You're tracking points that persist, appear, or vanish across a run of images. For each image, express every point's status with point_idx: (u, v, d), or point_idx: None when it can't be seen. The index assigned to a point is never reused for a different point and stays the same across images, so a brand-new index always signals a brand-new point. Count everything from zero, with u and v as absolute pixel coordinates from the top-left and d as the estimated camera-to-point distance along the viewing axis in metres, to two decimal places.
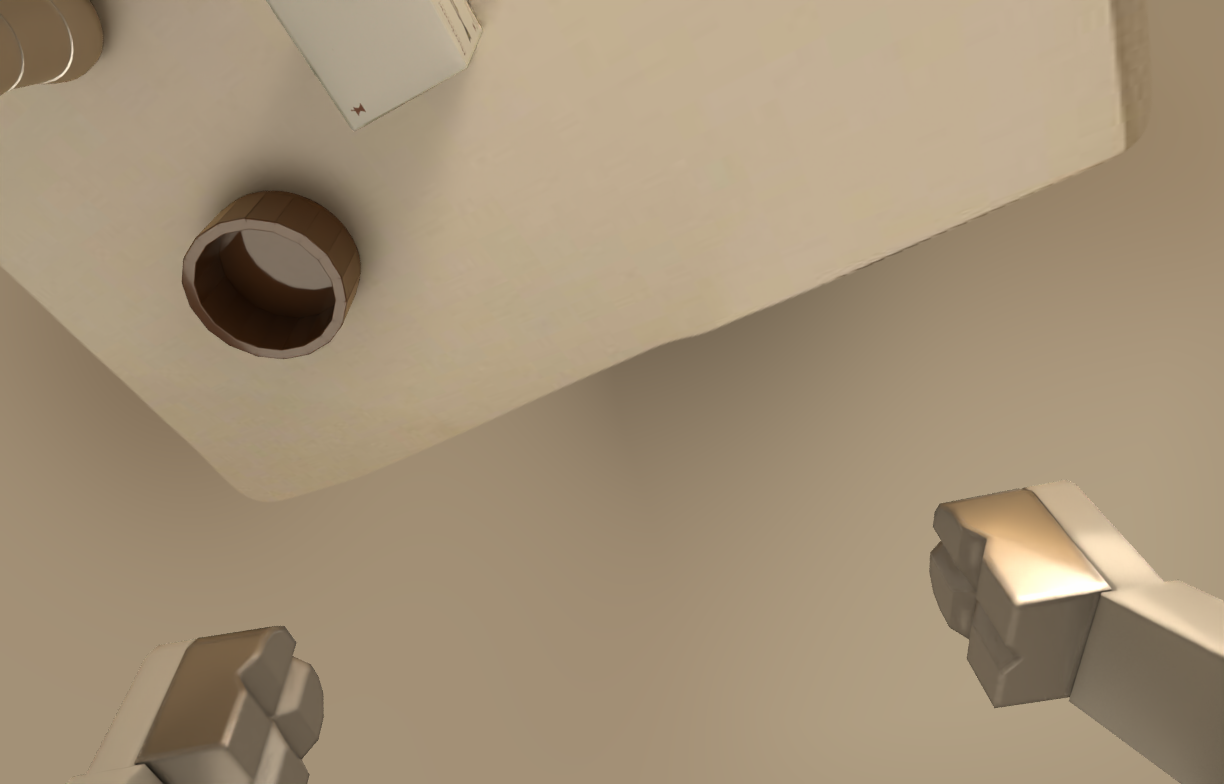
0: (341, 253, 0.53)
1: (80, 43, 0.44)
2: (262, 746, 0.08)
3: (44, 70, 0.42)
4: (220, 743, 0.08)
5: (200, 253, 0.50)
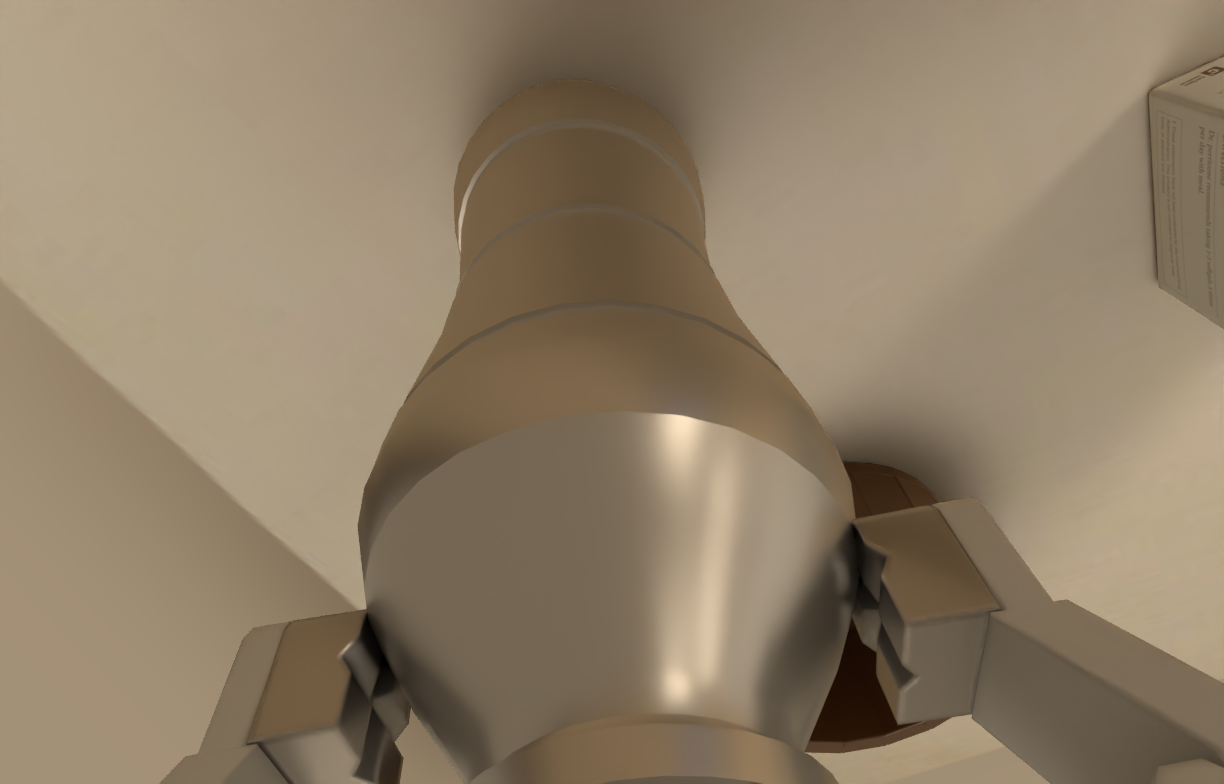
0: None
1: None
2: (366, 727, 0.08)
3: None
4: (333, 723, 0.08)
5: None
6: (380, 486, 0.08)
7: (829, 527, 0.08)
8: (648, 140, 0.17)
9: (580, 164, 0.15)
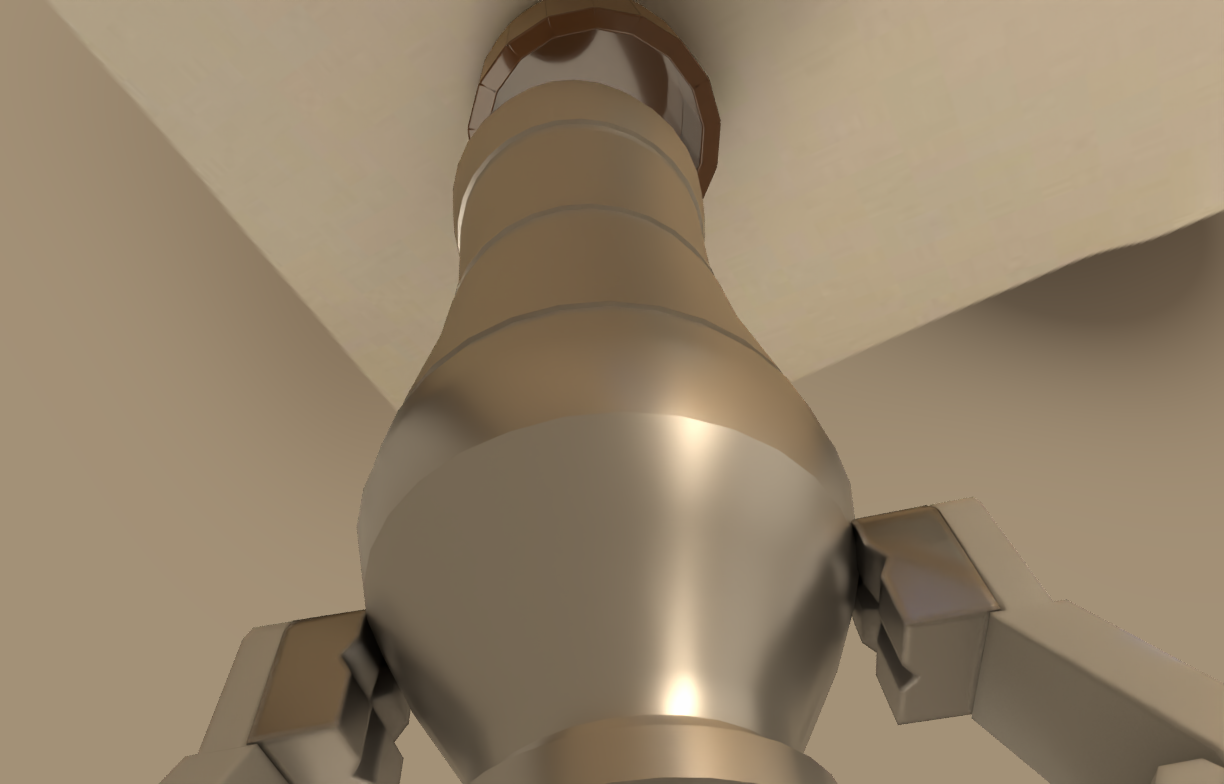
0: None
1: None
2: (366, 728, 0.08)
3: None
4: (333, 724, 0.08)
5: (508, 74, 0.30)
6: (379, 487, 0.08)
7: (828, 528, 0.08)
8: (647, 140, 0.17)
9: (579, 165, 0.15)
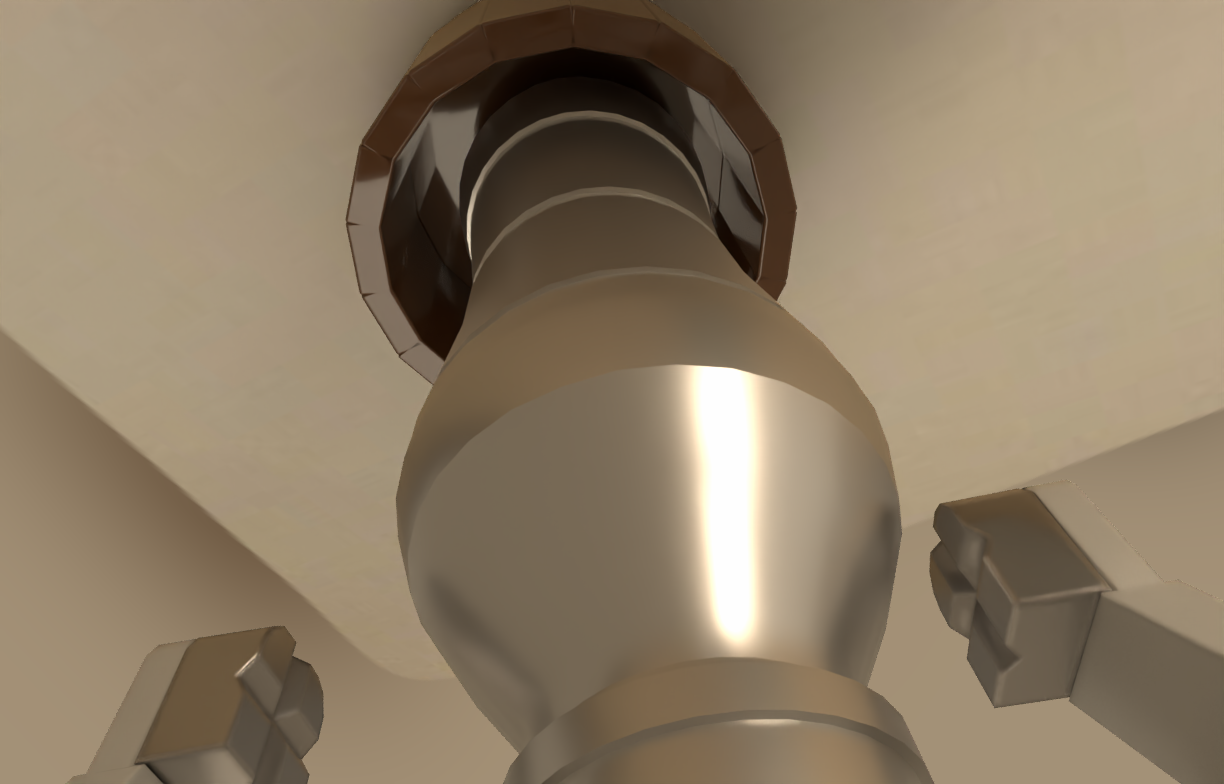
0: None
1: None
2: (262, 746, 0.08)
3: None
4: (221, 743, 0.08)
5: (413, 128, 0.16)
6: (424, 452, 0.08)
7: (876, 482, 0.08)
8: (656, 132, 0.17)
9: (593, 152, 0.15)
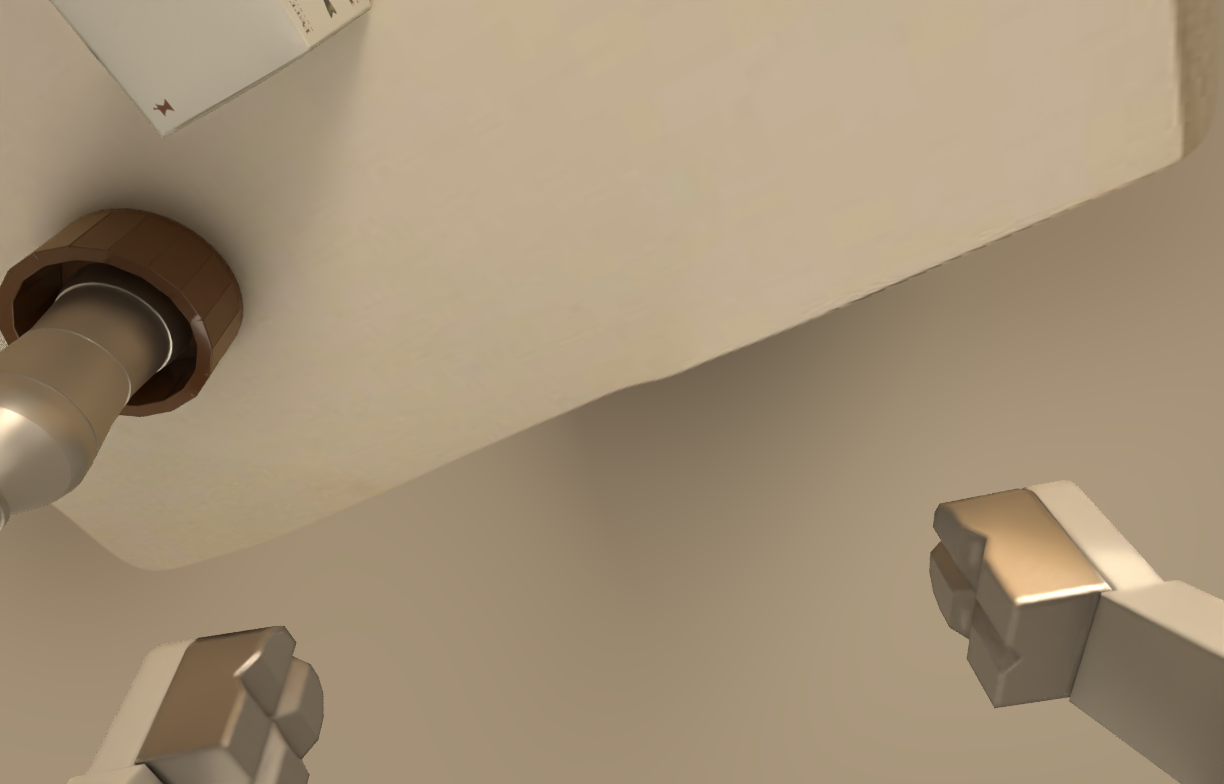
0: (206, 287, 0.42)
1: (178, 339, 0.43)
2: (262, 746, 0.08)
3: (145, 381, 0.41)
4: (220, 743, 0.08)
5: (16, 290, 0.39)
6: None
7: (28, 430, 0.31)
8: (125, 290, 0.40)
9: (69, 307, 0.38)
